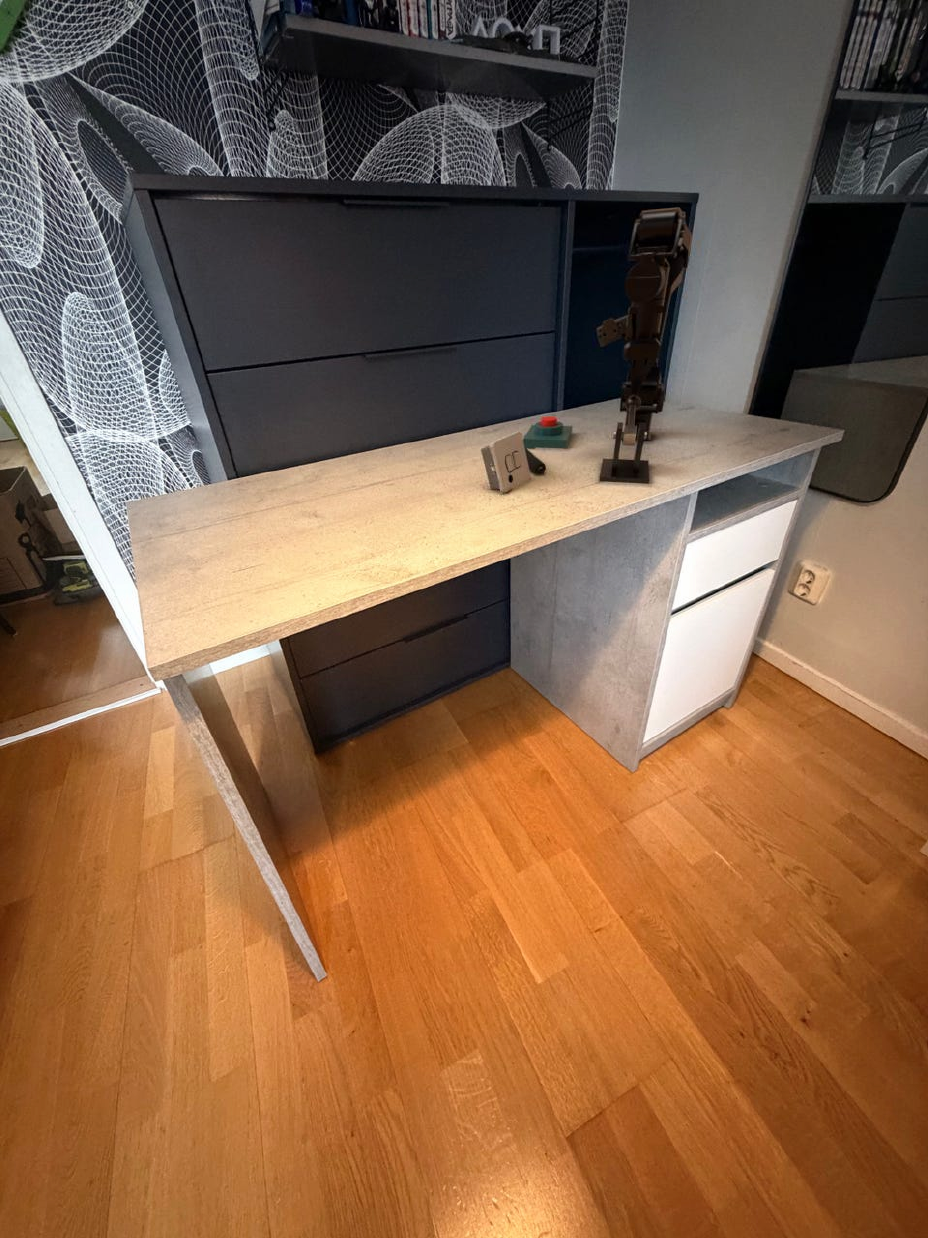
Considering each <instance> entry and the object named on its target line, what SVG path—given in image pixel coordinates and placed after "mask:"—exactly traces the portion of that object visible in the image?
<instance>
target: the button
mask: <svg viewBox="0 0 928 1238" xmlns="http://www.w3.org/2000/svg"><path fill="white" fill-rule="evenodd" d="M557 421H558V418H557V417H556V416H543V417H541V419H540V422H541V426H544V427H552V426H557Z"/></svg>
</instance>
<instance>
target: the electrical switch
mask: <svg viewBox="0 0 928 1238" xmlns="http://www.w3.org/2000/svg"><path fill="white" fill-rule="evenodd" d="M480 452H481V455H482V459H483V464H484V467H485V471H486V475H487V479H488V483H489V488H490V490H499V492H500V493H501V494H505V493H508V492H510V491H511V490H513V489H515V488H516V487H518V486H519V485H522V484H523V483H525V482H527V481H528V480H530V479H531V470H529V466H528V462H527V457H526V453H525V448H524V443H523V434H522V433H521V431H514V432H512V433H510V434H508V435H505V436H503V437H501V438H499V439H496V440H494V441H492V442H490V443H489V445H487V446H485V447H482V448H481V449H480Z"/></svg>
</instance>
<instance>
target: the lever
mask: <svg viewBox="0 0 928 1238" xmlns="http://www.w3.org/2000/svg"><path fill="white" fill-rule="evenodd" d="M640 405H641V400H640V398H639V397H638V396H636V395H632V396H630V397H629V398H628V399H627V400H626V403H625V406H626V409H627V410H629V419H628V426H626V425H625V424H624V428H625V429H623V431H624V436H623V440H622V446H636V441H635V439H636V433H637V426H634V420H635V411H636V410H637V409H639V407H640Z"/></svg>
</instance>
